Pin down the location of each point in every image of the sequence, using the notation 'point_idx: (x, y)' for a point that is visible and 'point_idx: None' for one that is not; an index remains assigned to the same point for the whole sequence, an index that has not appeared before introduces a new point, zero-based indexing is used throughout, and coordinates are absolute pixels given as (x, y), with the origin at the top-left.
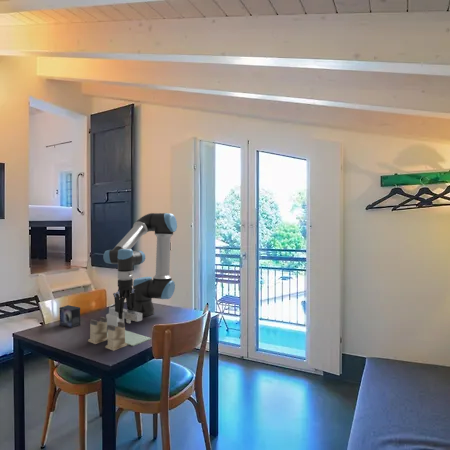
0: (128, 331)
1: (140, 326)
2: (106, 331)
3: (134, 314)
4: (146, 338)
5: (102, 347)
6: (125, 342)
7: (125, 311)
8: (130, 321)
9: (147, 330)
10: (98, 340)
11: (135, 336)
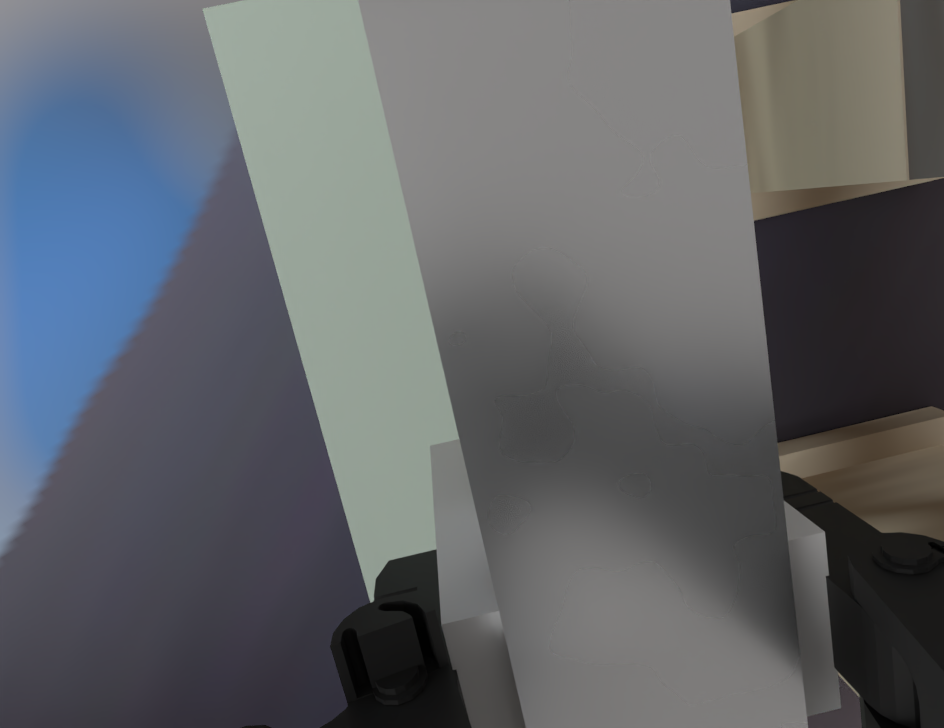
0: (367, 558)
1: (84, 692)
2: None
3: None
4: (286, 51)
5: (935, 227)
6: None
7: (743, 548)
8: (437, 458)
9: (68, 458)
10: (891, 450)
11: (389, 276)
